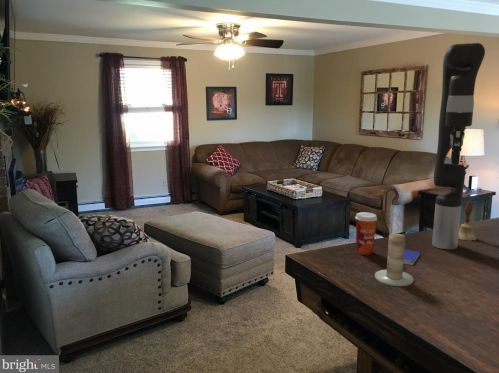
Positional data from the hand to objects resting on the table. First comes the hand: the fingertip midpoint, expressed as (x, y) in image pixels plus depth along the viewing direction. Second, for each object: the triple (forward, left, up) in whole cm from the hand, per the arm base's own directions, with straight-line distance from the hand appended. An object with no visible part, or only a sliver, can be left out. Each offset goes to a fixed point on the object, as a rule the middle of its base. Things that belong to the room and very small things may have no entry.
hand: (454, 162), depth 134 cm
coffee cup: (-10, -28, -38) cm, 48 cm away
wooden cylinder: (+11, -15, -37) cm, 42 cm away
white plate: (+11, -15, -38) cm, 42 cm away
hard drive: (-10, -13, -39) cm, 42 cm away
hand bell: (-45, +8, -38) cm, 60 cm away
